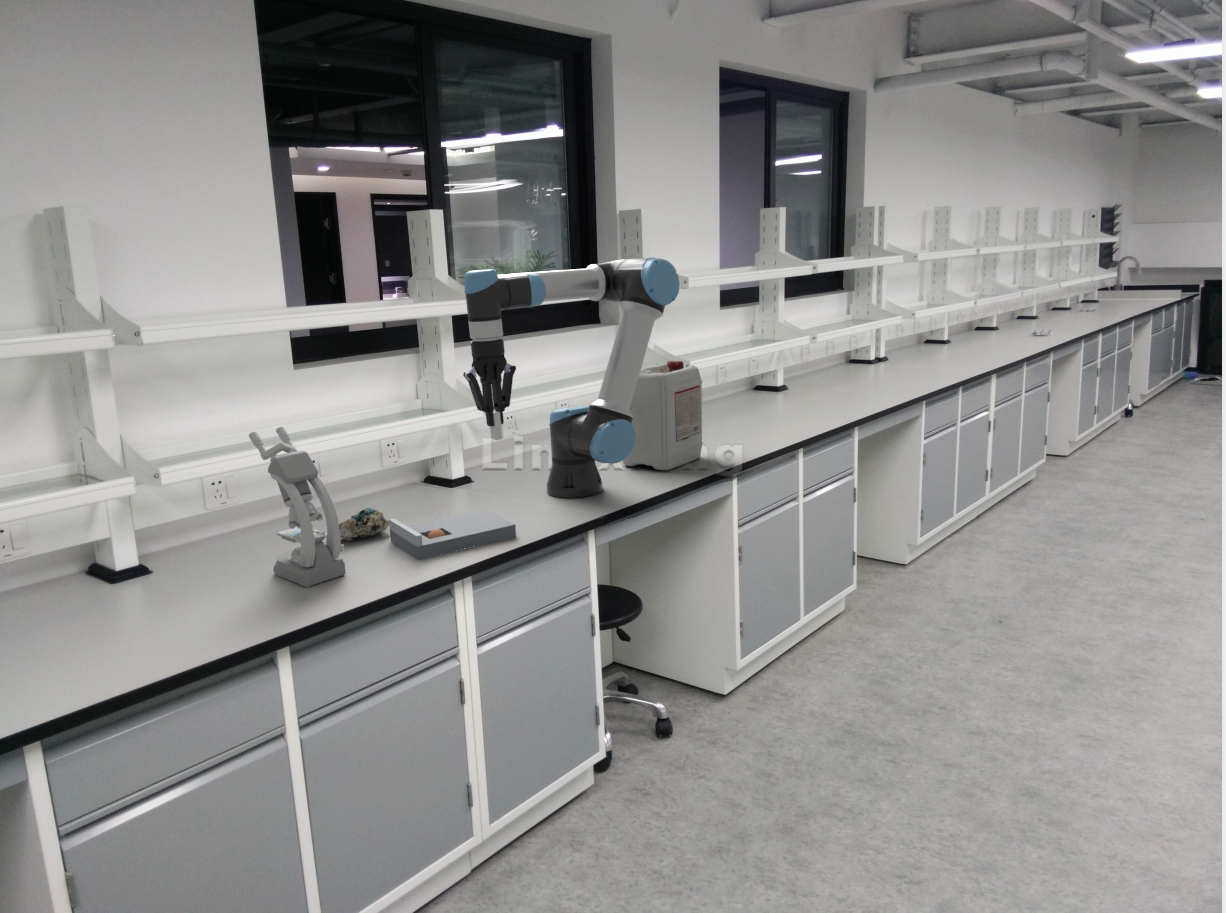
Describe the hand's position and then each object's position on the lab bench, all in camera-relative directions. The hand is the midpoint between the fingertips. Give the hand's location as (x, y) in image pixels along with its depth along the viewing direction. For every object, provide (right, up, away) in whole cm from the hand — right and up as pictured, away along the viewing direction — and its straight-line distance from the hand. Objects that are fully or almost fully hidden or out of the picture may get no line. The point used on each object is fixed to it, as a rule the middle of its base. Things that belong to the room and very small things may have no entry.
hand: (496, 438), depth 212 cm
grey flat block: (-9, -23, -4) cm, 26 cm away
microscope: (-37, -29, -23) cm, 52 cm away
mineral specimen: (-32, -23, 0) cm, 39 cm away
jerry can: (+42, -6, +63) cm, 76 cm away
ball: (-12, -22, -9) cm, 27 cm away
